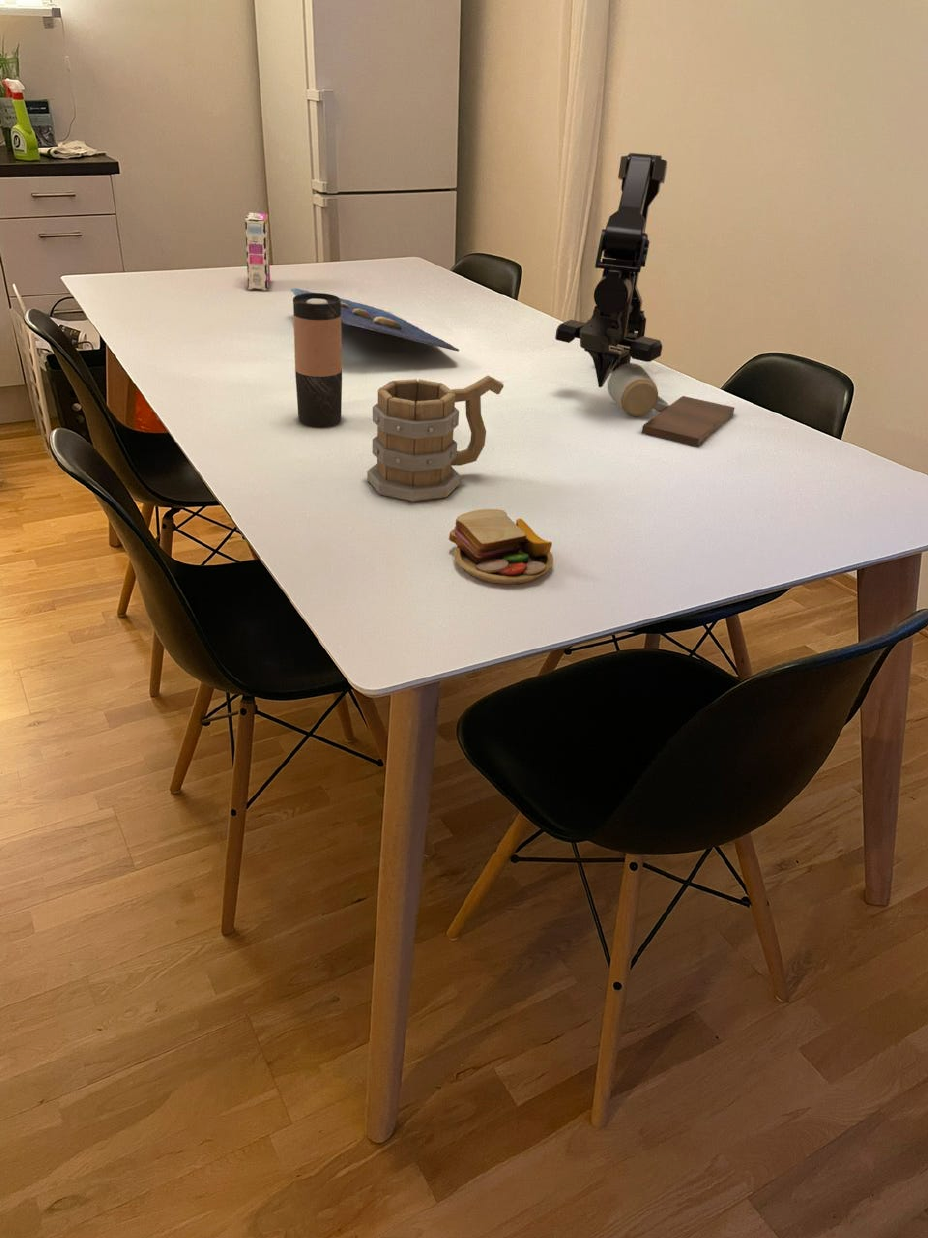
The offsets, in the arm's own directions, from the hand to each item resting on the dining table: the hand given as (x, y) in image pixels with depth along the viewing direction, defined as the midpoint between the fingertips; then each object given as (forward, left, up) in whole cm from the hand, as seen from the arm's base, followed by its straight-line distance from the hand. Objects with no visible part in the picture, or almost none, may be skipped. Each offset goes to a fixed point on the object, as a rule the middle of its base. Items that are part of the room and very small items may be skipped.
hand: (600, 386), depth 176 cm
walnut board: (+1, +18, -3) cm, 18 cm away
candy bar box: (-25, -104, -3) cm, 107 cm away
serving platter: (-3, -56, -3) cm, 56 cm away
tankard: (+50, -4, -3) cm, 50 cm away
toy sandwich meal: (+67, +16, -3) cm, 69 cm away
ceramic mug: (0, +8, -3) cm, 8 cm away
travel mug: (+41, -33, -3) cm, 53 cm away
